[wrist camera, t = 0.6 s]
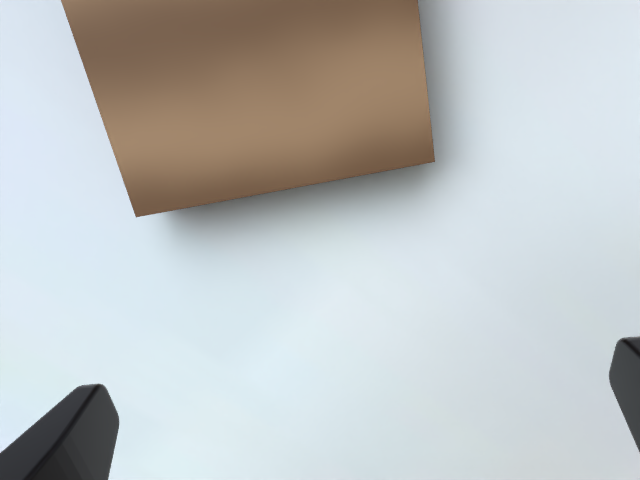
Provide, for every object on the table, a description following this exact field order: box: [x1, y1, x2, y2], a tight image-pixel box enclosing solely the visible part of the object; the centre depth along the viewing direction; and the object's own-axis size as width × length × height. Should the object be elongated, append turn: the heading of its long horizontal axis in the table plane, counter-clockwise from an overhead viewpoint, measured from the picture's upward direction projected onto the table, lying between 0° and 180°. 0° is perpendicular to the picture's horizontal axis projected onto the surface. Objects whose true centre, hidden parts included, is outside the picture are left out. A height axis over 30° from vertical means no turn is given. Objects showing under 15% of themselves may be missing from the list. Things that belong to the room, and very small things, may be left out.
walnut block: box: [61, 0, 435, 217], centre depth 19 cm, size 12×12×3 cm
